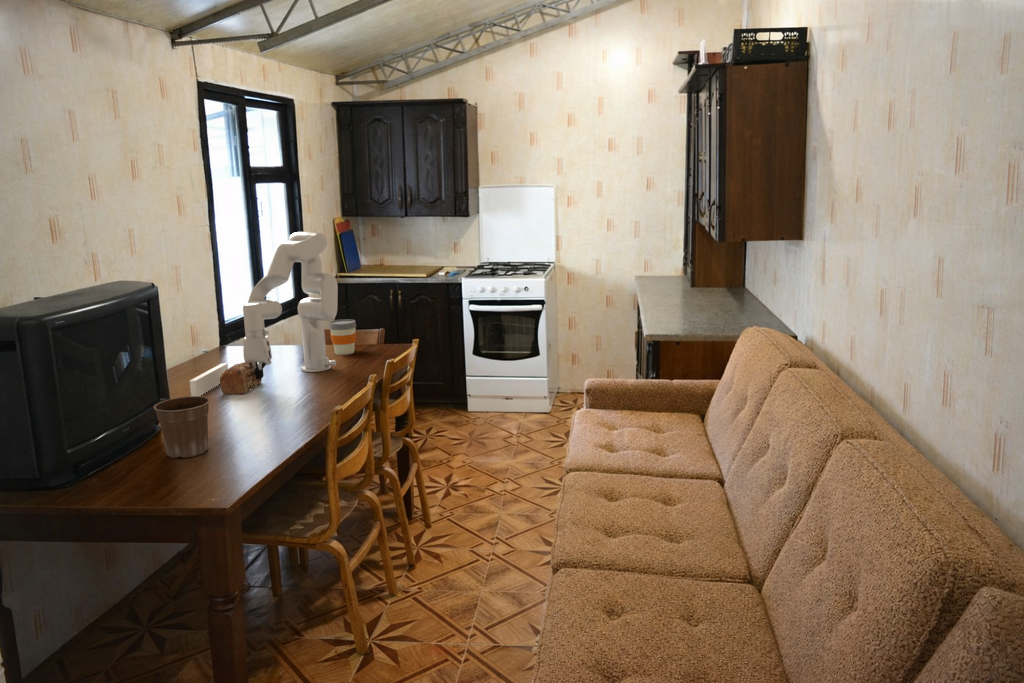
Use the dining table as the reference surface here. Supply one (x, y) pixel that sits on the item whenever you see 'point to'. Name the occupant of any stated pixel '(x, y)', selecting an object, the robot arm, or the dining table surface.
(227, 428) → the dining table surface
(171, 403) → the plant pot
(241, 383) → the bread
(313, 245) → the robot arm
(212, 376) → the board
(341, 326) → the reusable coffee cup
